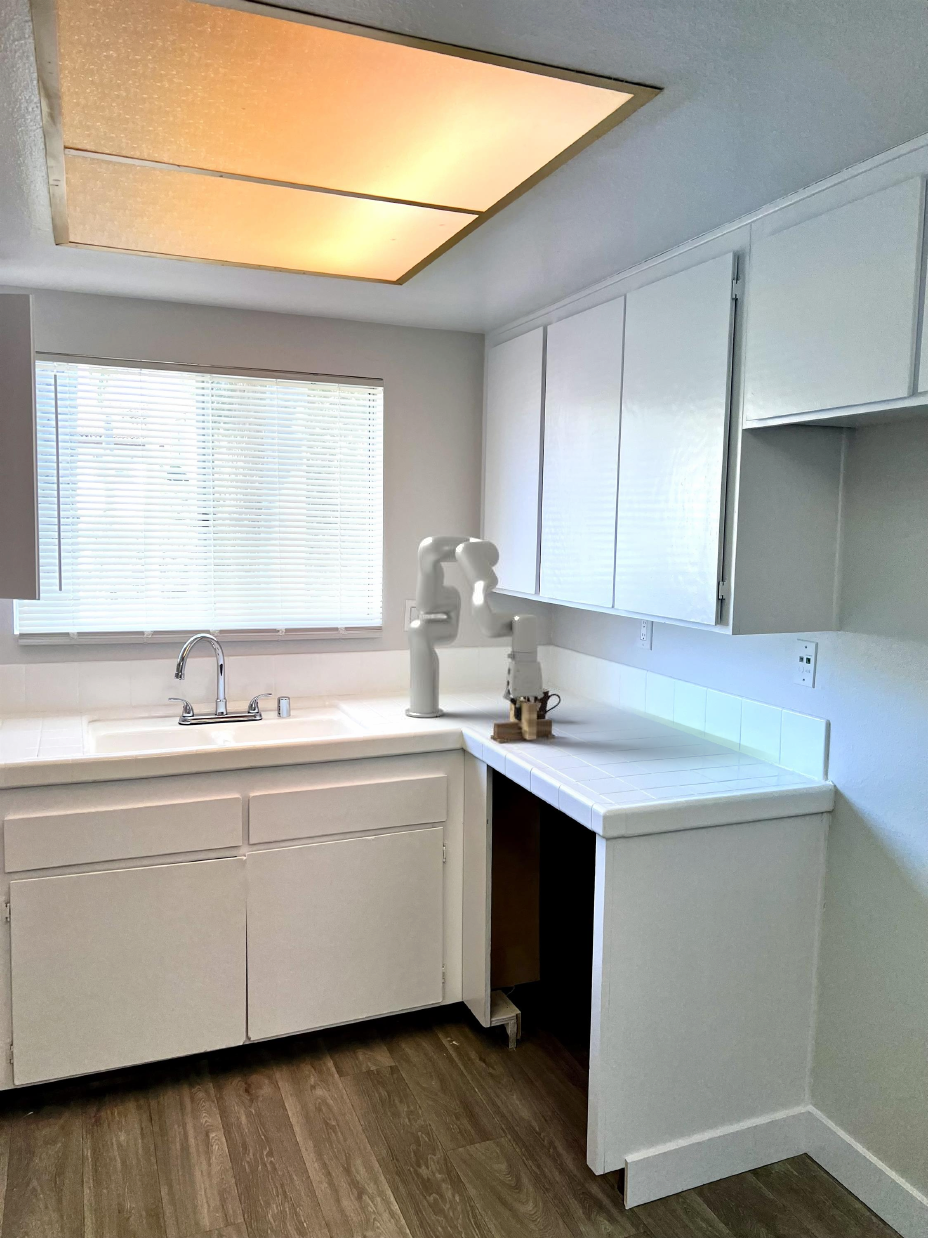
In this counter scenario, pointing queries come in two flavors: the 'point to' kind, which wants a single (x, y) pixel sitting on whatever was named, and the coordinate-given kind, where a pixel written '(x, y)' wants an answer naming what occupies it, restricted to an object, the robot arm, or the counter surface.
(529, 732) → the oak slotted plate
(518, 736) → the walnut notched block
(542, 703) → the coffee mug
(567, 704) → the counter surface
